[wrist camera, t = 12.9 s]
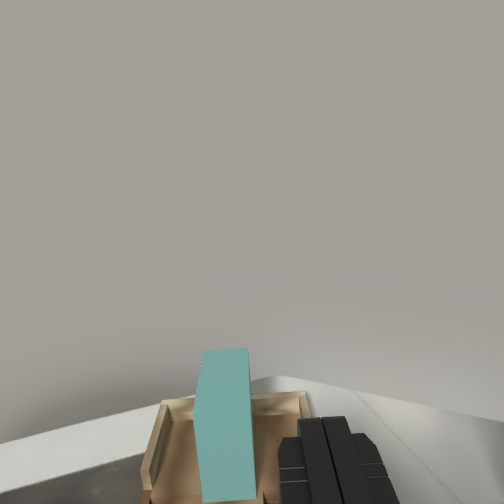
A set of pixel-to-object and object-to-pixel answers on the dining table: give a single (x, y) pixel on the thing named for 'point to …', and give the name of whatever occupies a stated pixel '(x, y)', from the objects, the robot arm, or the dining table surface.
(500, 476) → the dining table surface
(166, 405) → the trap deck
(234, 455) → the teal box
